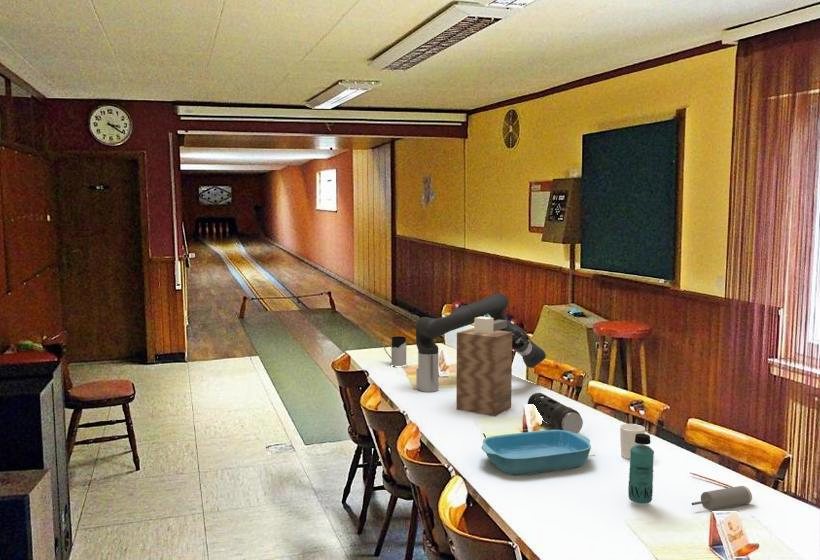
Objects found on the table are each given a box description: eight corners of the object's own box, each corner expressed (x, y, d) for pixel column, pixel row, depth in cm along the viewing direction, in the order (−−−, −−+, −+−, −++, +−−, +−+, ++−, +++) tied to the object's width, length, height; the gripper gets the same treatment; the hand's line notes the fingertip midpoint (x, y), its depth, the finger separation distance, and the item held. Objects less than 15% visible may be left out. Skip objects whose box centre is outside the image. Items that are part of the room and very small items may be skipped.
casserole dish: (497, 482, 214) (498, 459, 213) (470, 457, 235) (470, 436, 235) (604, 469, 225) (605, 447, 224) (569, 446, 246) (569, 426, 245)
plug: (474, 332, 288) (474, 318, 287) (496, 326, 303) (496, 312, 303) (487, 334, 284) (487, 319, 284) (508, 327, 300) (509, 313, 299)
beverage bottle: (624, 500, 200) (626, 431, 198) (646, 499, 200) (649, 430, 198) (633, 509, 193) (635, 438, 191) (656, 508, 194) (659, 438, 192)
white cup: (644, 453, 238) (645, 425, 237) (644, 461, 230) (644, 432, 229) (619, 451, 240) (620, 422, 239) (618, 459, 233) (619, 429, 232)
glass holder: (401, 368, 367) (401, 339, 365) (378, 365, 374) (378, 337, 373) (410, 365, 374) (410, 337, 372) (388, 362, 382) (388, 334, 380)
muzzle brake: (548, 416, 281) (548, 390, 280) (584, 438, 255) (585, 410, 254) (526, 418, 279) (526, 392, 278) (560, 440, 252) (561, 412, 251)
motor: (763, 503, 197) (762, 485, 197) (699, 515, 190) (698, 496, 190) (703, 486, 219) (702, 470, 219) (643, 496, 212) (642, 479, 212)
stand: (456, 409, 291) (456, 332, 288) (473, 401, 303) (473, 327, 299) (495, 416, 281) (496, 337, 278) (511, 408, 292) (512, 331, 289)
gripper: (508, 335, 323) (494, 321, 311) (537, 338, 315) (524, 324, 303) (504, 350, 320) (490, 337, 308) (533, 354, 312) (520, 341, 300)
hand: (507, 331), depth 305 cm, fingers open, 8 cm apart
